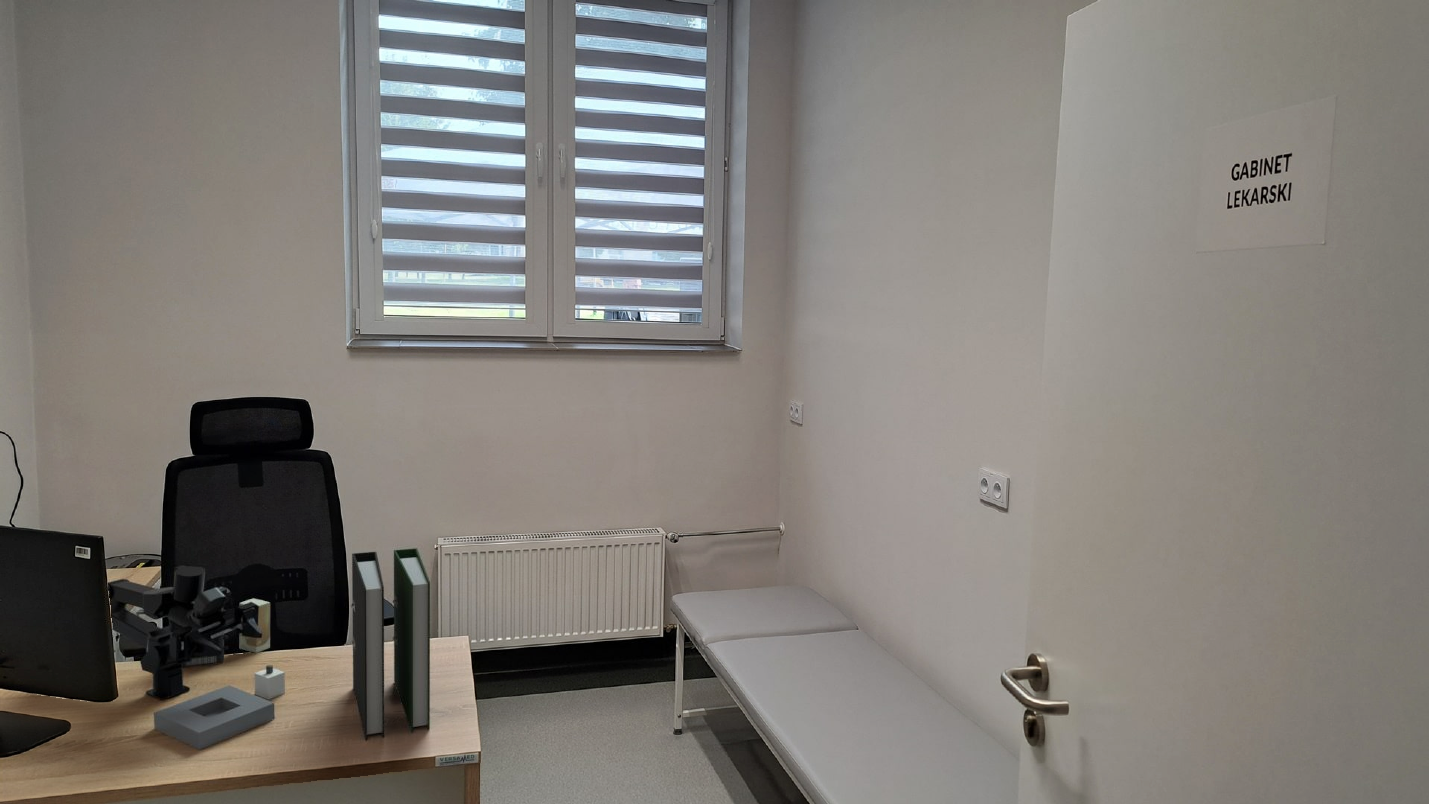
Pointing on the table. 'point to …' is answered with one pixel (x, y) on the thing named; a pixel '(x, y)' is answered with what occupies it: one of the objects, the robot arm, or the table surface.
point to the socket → (213, 716)
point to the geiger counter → (209, 659)
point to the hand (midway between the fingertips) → (241, 644)
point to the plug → (269, 682)
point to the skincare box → (263, 625)
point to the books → (406, 637)
